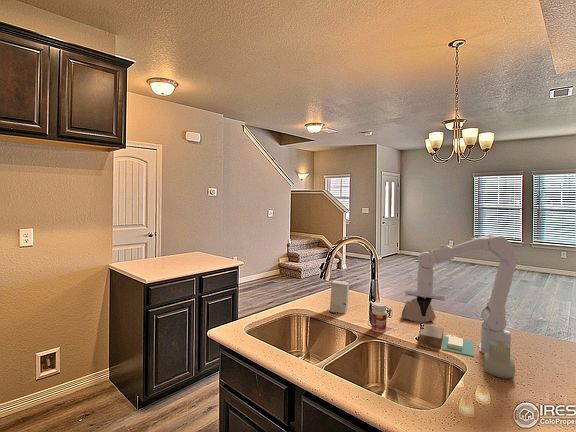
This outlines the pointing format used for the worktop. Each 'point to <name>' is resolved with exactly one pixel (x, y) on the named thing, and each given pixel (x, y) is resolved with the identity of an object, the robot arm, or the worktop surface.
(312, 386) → the worktop surface
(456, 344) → the white flat block
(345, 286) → the skincare box
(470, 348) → the mat
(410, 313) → the pumice stone
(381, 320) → the pill bottle
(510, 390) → the worktop surface
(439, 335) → the deck
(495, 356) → the air freshener
